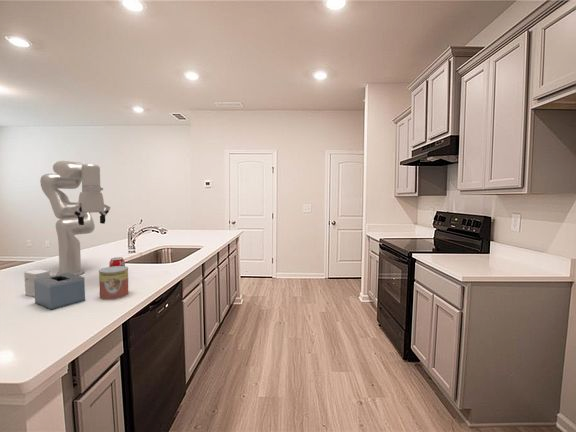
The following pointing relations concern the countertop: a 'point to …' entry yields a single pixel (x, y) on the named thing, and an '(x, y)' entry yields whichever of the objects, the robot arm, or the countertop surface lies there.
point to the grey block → (59, 290)
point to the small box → (30, 280)
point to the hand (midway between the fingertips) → (92, 224)
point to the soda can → (117, 262)
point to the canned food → (113, 282)
